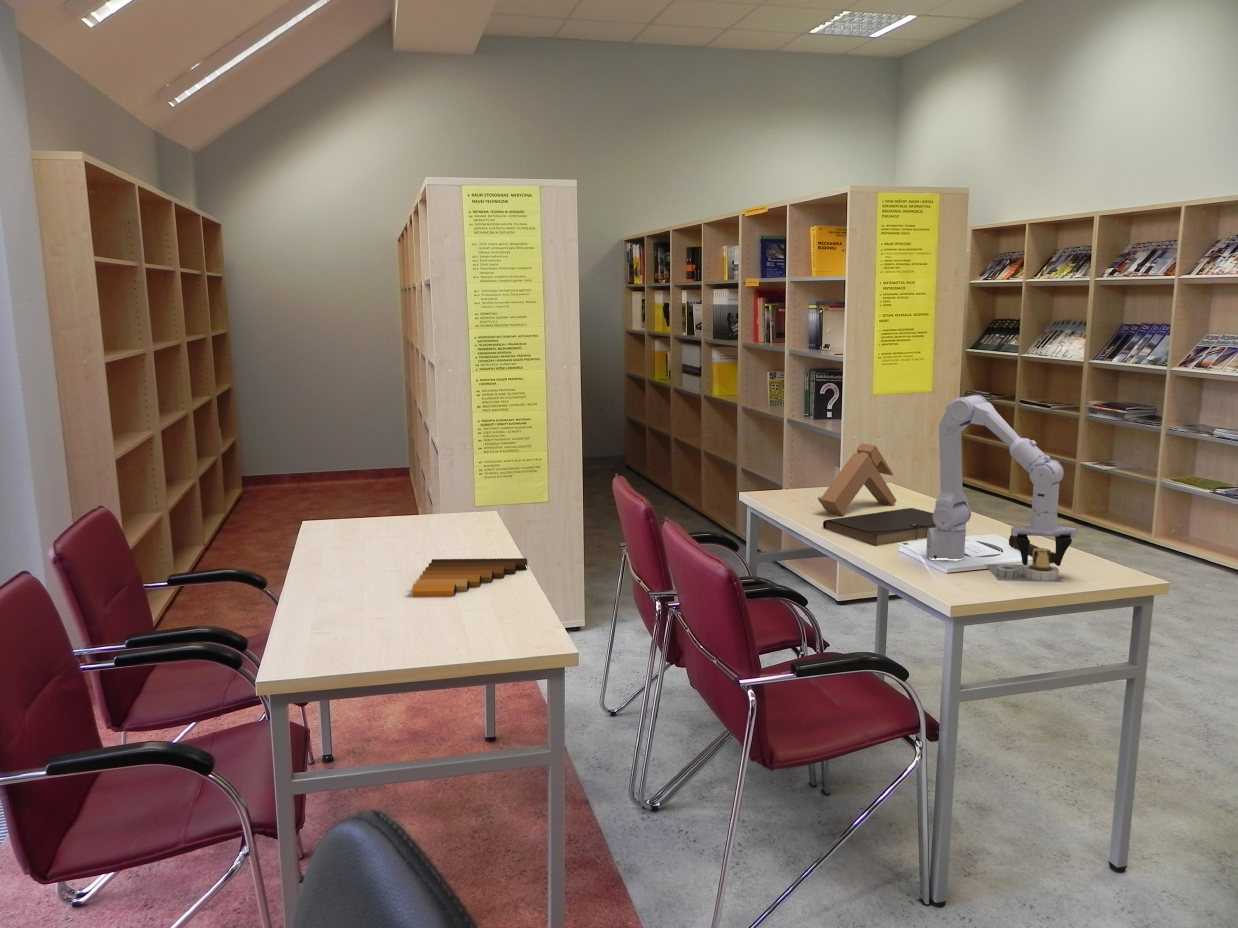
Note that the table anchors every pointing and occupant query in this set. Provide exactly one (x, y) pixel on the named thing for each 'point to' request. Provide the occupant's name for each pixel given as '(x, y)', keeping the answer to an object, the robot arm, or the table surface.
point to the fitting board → (1023, 573)
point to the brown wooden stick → (1014, 544)
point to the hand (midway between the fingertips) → (1041, 564)
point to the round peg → (1041, 559)
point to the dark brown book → (884, 526)
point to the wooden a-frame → (858, 481)
